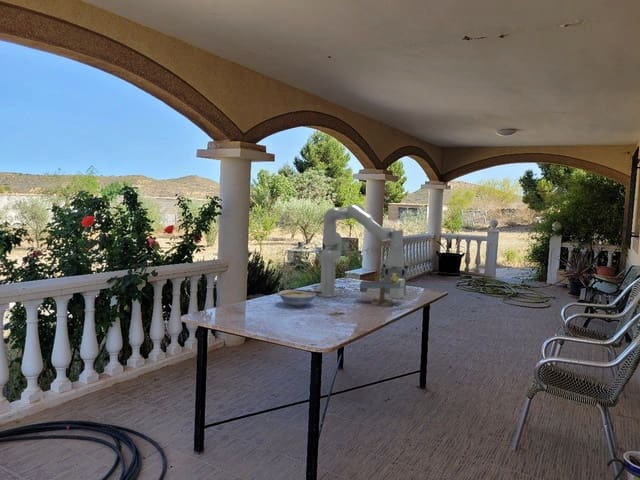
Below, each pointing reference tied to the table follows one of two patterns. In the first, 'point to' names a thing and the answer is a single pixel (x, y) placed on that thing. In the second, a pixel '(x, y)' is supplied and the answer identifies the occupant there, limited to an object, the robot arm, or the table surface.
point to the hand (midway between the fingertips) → (394, 275)
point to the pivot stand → (382, 299)
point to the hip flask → (388, 277)
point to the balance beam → (378, 285)
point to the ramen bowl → (297, 296)
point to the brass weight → (394, 278)
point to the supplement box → (398, 290)
